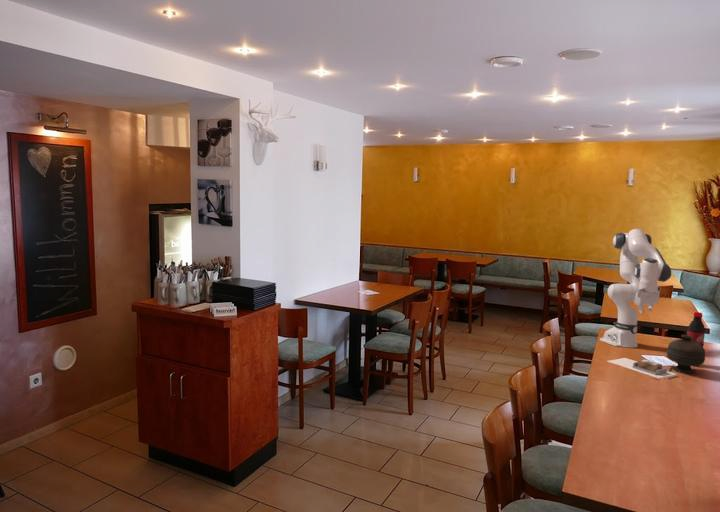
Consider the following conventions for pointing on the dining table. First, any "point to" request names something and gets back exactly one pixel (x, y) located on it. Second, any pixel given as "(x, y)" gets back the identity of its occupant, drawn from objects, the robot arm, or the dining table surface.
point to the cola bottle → (697, 329)
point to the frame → (649, 365)
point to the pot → (685, 354)
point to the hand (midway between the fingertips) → (645, 312)
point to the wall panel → (634, 366)
